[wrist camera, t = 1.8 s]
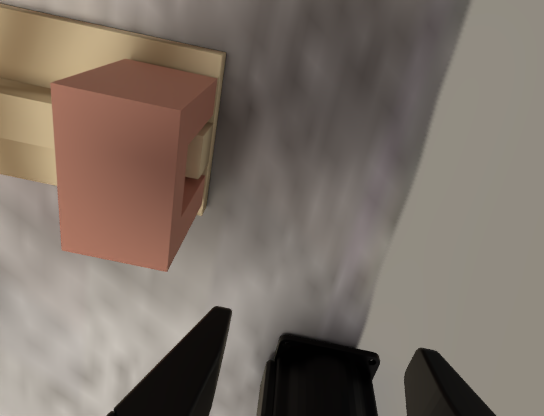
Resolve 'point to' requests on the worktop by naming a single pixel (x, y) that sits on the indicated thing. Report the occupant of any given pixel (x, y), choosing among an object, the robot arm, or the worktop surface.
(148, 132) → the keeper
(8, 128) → the rail
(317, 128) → the worktop surface
